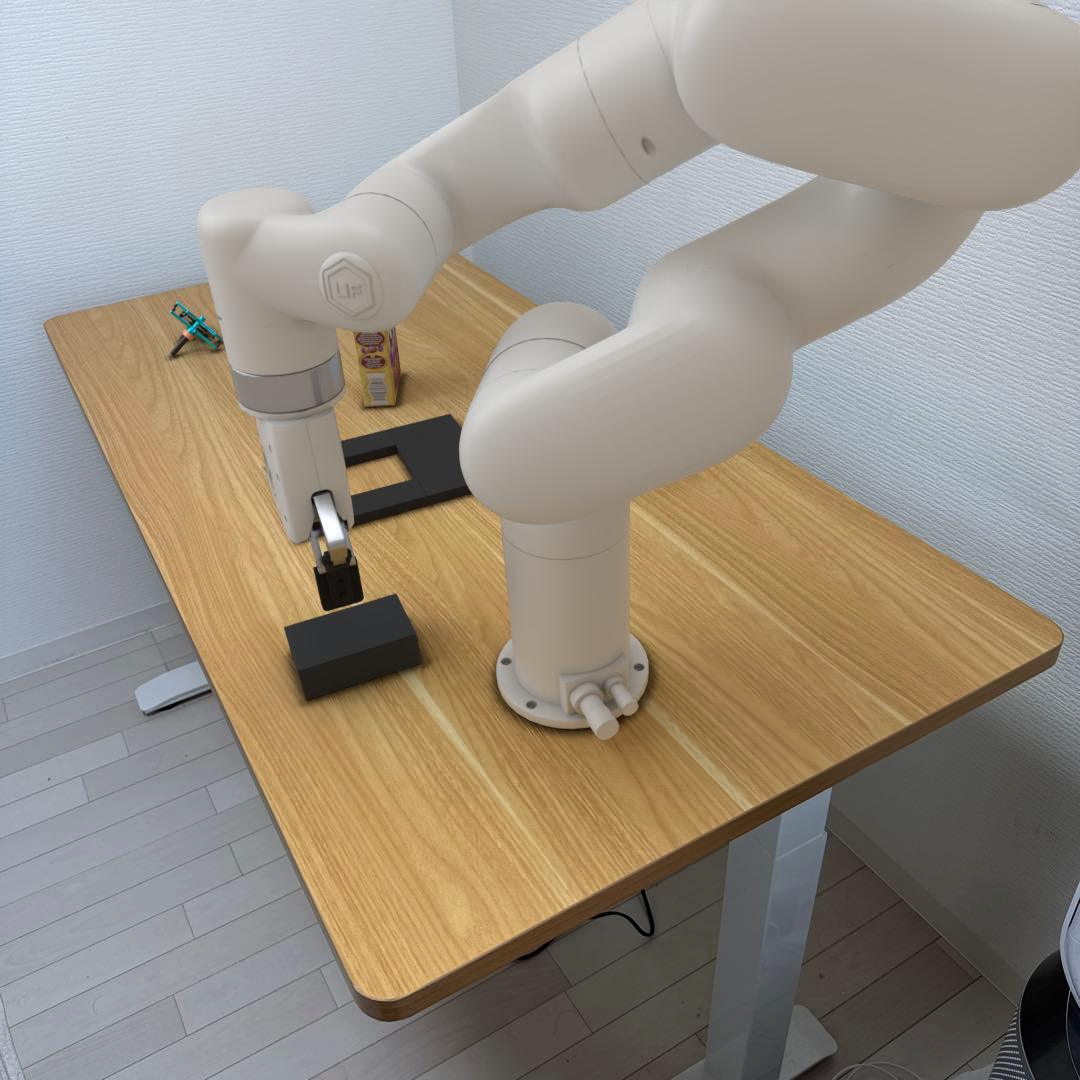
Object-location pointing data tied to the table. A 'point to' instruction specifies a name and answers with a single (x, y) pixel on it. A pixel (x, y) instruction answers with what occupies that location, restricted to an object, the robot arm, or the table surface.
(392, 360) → the candy box
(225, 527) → the table surface
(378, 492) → the black rectangular frame
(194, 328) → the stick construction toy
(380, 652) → the loose black block
